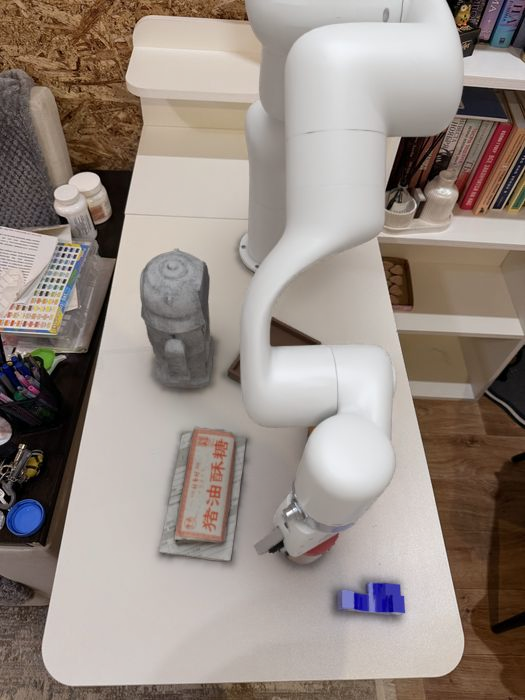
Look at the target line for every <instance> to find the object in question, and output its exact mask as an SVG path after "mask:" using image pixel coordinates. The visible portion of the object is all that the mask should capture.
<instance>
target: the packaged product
mask: <svg viewBox="0 0 525 700" xmlns="http://www.w3.org/2000/svg"><path fill="white" fill-rule="evenodd" d="M246 443H247V437H241V436H235V435H234V434H233V432H231V431H227V430H225V429H223V428H222V429H218V428H217V429H212V428H207V427H200V426H197V425H196V426H193V430H185V431H184V432H182V433H181V437H180V442H179V448H178V453H177V459H176V463H175V468H174V474H173V479H172V484H171V489H170V494H169V500H168V505H167V509H166V513H165V514H166V515H165V520H164V525H163V530H162V535H161V541H160V544H159V550H158V552H159V553H163V554H165V555H170V556H183V557H190V558H197V559H203V560H209V561H223V562H224V561H225V562H226V561H227V562H231V559H232V555H233V554H232V552H233V547H234V540H235V534H236V526H237V525H236V524H237V517H238V516H237V514H238V505H239V499H240V493H241V485H242V474H243V468H244V462H245V451H246V450H245V449H246Z"/></svg>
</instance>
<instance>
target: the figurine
mask: <svg viewBox="0 0 525 700" xmlns="http://www.w3.org/2000/svg"><path fill="white" fill-rule="evenodd" d="M210 282H211V281H210V273H209V268H208V265H207V263H206V262H205V261H204V260H202V259H200V258H198V257H196V256H194V255H193V254H190V253H189V252H186V251H181V250H180V249H179V248H177V247H175V248H173V250H171V251H166V252H163V253H160V254H157V255H156V256H154V257H152V258H151V259H150V260H149V261H148V262H147V263H146V265H145V266H144V268H143V269H142V271H141V273H140V276H139V295H140V296H139V298H140V302H141V309H140V317H141V318H142V320H143V321H144V324H145V329H146V334H147V338H148V341H149V343H150V345H151V347H152V350H153V355H154V356H155V359H156V364H155V368H154V373H155V376H156V378H157V379H158V381H159V382H160V383H161V384H162V385H164V387H167V388H180V389H181V388H182V389H201V388H203V387H206V386H208V385H211V377H212V367H213V357H214V350H215V348H214V347H215V340H214V337H213V336H212V335H211V327H210V325H211V324H210V323H211V321H210V304H209V299H210V298H209V296H210V285H211V284H210Z"/></svg>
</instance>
